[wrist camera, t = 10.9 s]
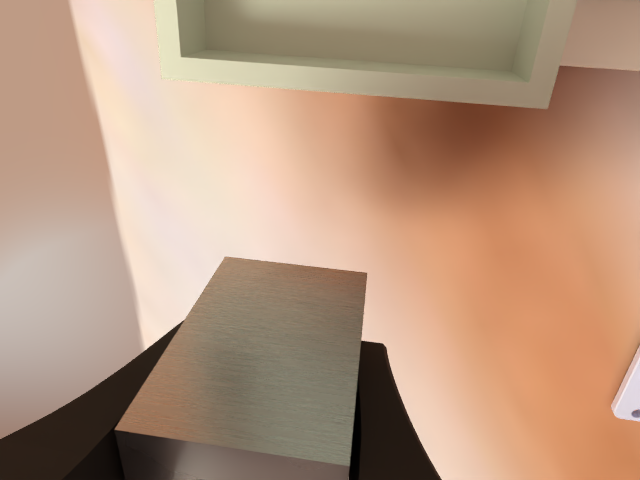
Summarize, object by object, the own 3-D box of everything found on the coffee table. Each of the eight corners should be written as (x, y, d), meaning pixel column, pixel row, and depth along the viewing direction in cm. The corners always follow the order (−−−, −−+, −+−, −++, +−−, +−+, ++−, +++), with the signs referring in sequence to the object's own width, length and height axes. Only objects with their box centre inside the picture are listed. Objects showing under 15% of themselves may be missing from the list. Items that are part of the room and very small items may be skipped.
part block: (367, 272, 13) (349, 466, 8) (354, 381, 15) (333, 597, 9) (225, 256, 13) (113, 429, 8) (230, 364, 15) (143, 562, 10)
